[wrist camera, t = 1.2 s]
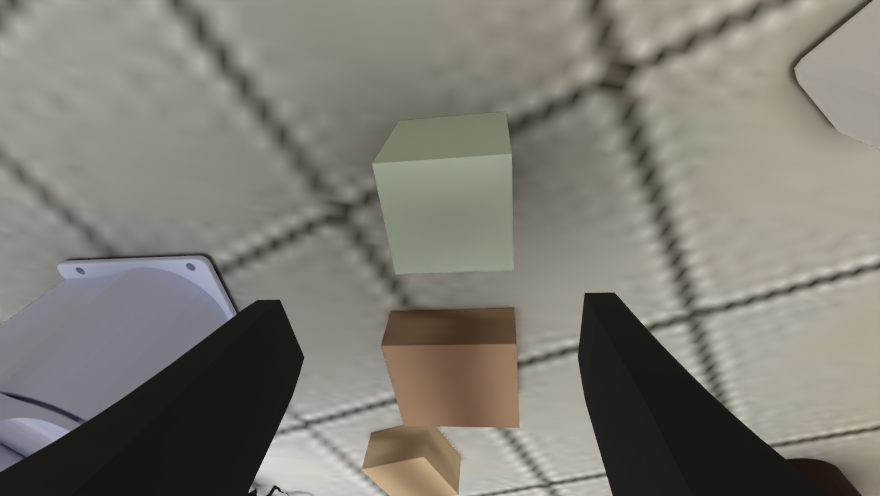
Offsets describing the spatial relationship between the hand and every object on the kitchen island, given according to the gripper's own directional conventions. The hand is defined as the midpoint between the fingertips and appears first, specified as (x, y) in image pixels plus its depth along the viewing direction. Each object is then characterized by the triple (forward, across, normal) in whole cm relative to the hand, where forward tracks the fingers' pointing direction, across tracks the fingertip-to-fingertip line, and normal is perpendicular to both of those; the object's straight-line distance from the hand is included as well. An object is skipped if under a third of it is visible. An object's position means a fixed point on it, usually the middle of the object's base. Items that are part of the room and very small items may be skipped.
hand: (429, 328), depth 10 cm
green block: (+10, 0, 0) cm, 10 cm away
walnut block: (+10, +1, +12) cm, 16 cm away
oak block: (+10, +5, +22) cm, 25 cm away
